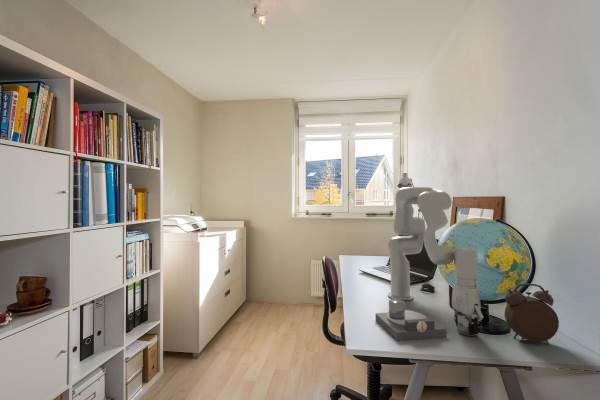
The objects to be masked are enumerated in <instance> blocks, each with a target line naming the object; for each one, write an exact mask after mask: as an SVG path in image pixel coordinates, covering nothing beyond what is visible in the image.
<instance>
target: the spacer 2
mask: <svg viewBox="0 0 600 400" xmlns="http://www.w3.org/2000/svg"><path fill="white" fill-rule="evenodd" d="M472 318H473V319H474V316H472ZM469 323H470V320H469V316H467V315H465V314H463V313H459V314H458V327H457V332H458V333H459V334H461V335H462V336H467V337H475V336H476V335H477V334H475V335H470V334H469Z"/></svg>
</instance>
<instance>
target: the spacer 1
mask: <svg viewBox="0 0 600 400" xmlns="http://www.w3.org/2000/svg"><path fill="white" fill-rule="evenodd" d="M405 310H406V302H405V300H398V299H392V298H391V299H389V300H388V312H389V317H390V318H391V319H395V320H403V319H405Z"/></svg>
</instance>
